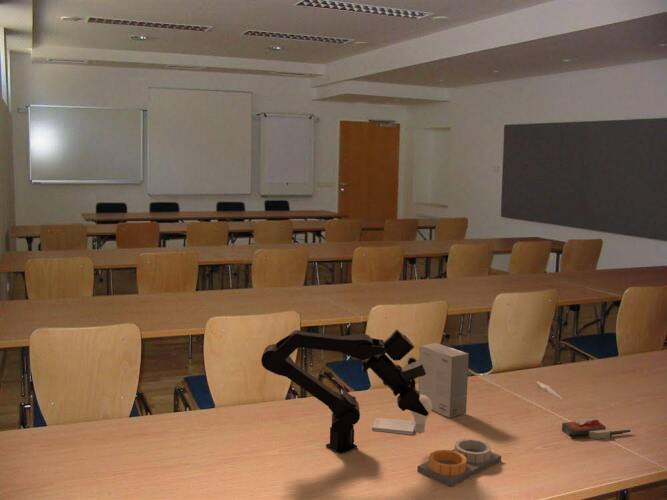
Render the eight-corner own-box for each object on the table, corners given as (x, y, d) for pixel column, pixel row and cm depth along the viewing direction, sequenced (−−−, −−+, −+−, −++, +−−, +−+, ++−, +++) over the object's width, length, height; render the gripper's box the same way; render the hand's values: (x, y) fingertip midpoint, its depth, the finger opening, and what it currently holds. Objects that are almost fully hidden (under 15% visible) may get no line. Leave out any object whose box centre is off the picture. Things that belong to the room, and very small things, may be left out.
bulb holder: (451, 486, 172) (451, 471, 172) (417, 471, 180) (417, 456, 180) (501, 461, 187) (501, 447, 186) (467, 447, 195) (468, 434, 194)
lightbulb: (432, 437, 190) (434, 399, 188) (409, 437, 190) (411, 399, 188) (429, 428, 196) (431, 391, 194) (407, 427, 196) (408, 390, 194)
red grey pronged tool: (574, 443, 200) (632, 436, 206) (575, 429, 200) (633, 422, 205) (556, 431, 209) (613, 425, 214) (557, 417, 208) (614, 411, 213)
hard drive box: (467, 414, 220) (470, 353, 217) (449, 419, 216) (452, 357, 213) (433, 399, 233) (436, 341, 230) (416, 403, 228) (418, 345, 225)
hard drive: (416, 421, 211) (376, 416, 214) (413, 431, 203) (371, 426, 206) (416, 426, 211) (376, 421, 214) (413, 436, 203) (371, 432, 206)
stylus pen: (534, 385, 248) (534, 380, 248) (540, 385, 249) (541, 380, 248) (559, 402, 234) (559, 397, 234) (565, 401, 235) (566, 396, 234)
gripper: (412, 362, 180) (452, 403, 182) (405, 342, 199) (441, 379, 200) (381, 390, 181) (421, 431, 183) (377, 368, 200) (413, 405, 202)
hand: (425, 410), depth 192 cm, fingers closed on lightbulb, 6 cm apart
